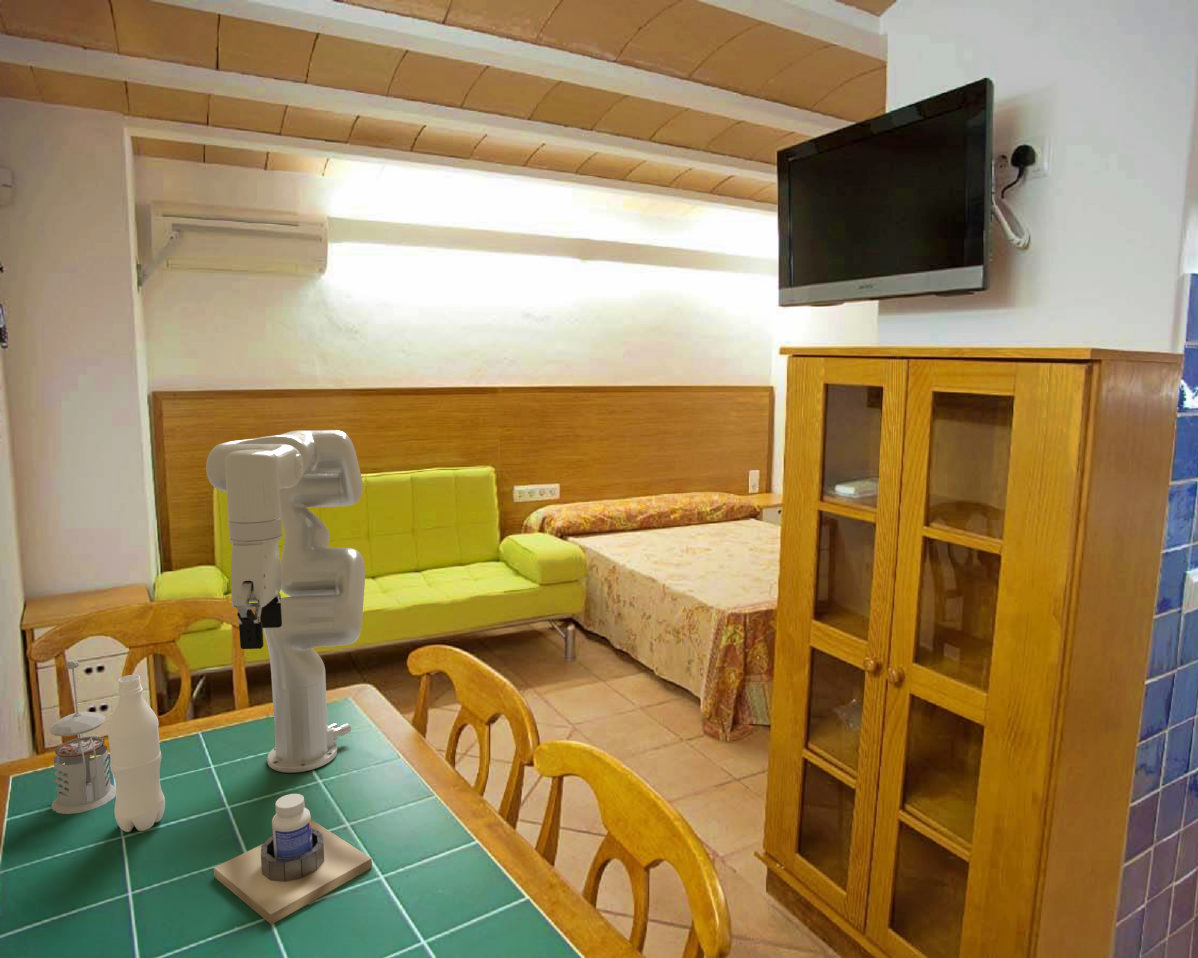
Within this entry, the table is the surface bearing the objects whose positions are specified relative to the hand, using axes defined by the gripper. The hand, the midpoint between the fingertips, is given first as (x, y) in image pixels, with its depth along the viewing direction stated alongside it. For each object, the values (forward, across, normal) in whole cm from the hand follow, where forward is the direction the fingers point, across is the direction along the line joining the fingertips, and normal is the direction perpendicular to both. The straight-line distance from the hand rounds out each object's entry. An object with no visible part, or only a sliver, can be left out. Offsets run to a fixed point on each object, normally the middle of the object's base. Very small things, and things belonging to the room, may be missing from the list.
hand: (262, 637), depth 126 cm
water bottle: (+32, -4, -22) cm, 39 cm away
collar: (+31, +12, +6) cm, 34 cm away
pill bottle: (+31, +12, +6) cm, 34 cm away
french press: (+32, -12, -35) cm, 49 cm away
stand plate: (+32, +12, +6) cm, 35 cm away
